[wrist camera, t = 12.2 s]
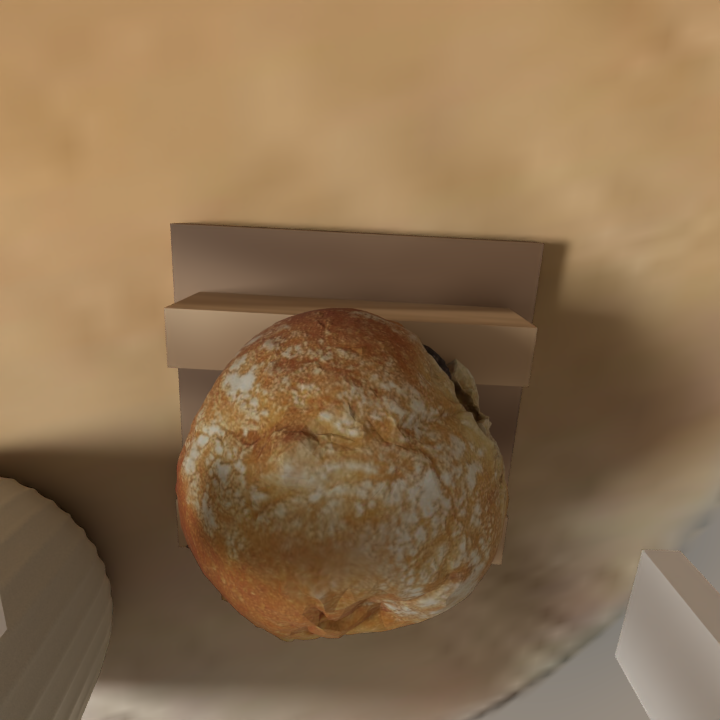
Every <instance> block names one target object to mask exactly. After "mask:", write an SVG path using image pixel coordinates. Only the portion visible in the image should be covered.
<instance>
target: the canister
mask: <svg viewBox="0 0 720 720" xmlns="http://www.w3.org/2000/svg"><path fill="white" fill-rule="evenodd" d="M105 571H106V570H105V564H104V562H103V561H102V560H101V559H100V558H99V556H98V554H97V548H96V546H95V545H94V544H93V543H92V542H91V541H90V540H89V539H88V538H87V536H86V534H85V531H84V529H83V528H81V527H79V526H78V525H77V524H76V523H75V522H74V521H73V520H72V518H71V515H70V514H69V513H66V512H64V511H63V510H61V509H60V508H59V507H58V506H57V505H56V504H55V502H54V501H53V500H49V499H47V498H45V497H43V496H42V495H40V494H39V493H38V492H37V491H36V489H34V488H28V487H25V486H23V485H21V484H20V483H18V482H17V481H16V480H15V479H12V478H3V477H0V597H1V602H2V607H3V612H4V617H5V622H6V626H7V630H6V631H5V633H4V634H3V635H2V636H1V637H0V720H81V718H82V715H83V713H84V710H85V708H86V706H87V703H88V701H89V699H90V696H91V694H92V691H93V689H94V686H95V684H96V682H97V679H98V676H99V674H100V671H101V668H102V665H103V662H104V658H105V654H106V651H107V648H108V644H109V641H110V636H111V631H112V614H113V601H112V598H111V584H110V581H109V579H108V577H107V576H106V573H105Z"/></svg>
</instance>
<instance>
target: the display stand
mask: <svg viewBox="0 0 720 720" xmlns="http://www.w3.org/2000/svg"><path fill="white" fill-rule="evenodd" d="M170 227H171V245H172V264H173V282H174V301H175V303H174V304H172V305H170V306H167V307H165V308H164V314H165V330H166V347H167V364H168V367H169V368H178V374H179V392H180V411H181V429H182V448H183V446H184V444H185V441H186V439H187V436H188V434H189V432H190V429H191V424H192V422H193V419H194V417H195V415H196V414H197V412H198V411H199V409H200V408H201V406H202V404H203V402H204V400H205V398H206V396H207V394H208V392H210V390H211V389H212V387H213V385H214V383H215V381H216V380H217V378H218V377H219V375H220V374H221V373H222V372H223V370H224V369H225V367H226V366H227V364H228V363H229V362H230V361H231V360H232V359H233V358H234V357H235V355H236V354H237V353H238V351H239V350H240V349H241V348H242V347H243V346H244V345H245V344H246V343H247V342H249V341H250V340H251V339H252V338H253V337H254V336H256V335H257V334H259V333H260V332H262V331H263V330H265V329H266V328H268V327H270V326H272V325H273V324H274V323H276V322H278V321H280V320H283V319H285V318H288V317H291V316H294V315H297V314H300V313H303V312H308V311H312V310H317V309H326V308H354V309H359V310H364V311H367V312H370V313H373V314H375V315H378V316H380V317H382V318H384V319H387V320H391V321H395V322H399V323H400V324H402V325H403V326H404V328H405V329H407V330H409V331H410V332H412V333H414V334H415V335H417V336H419V338H420V340H421V342H422V344H424V345H426V346H429V347H430V348H431V349H433V350H434V351H435V352H436V353H437V354H439V356H440V357H441V358H442V359H443V360H444V361H445V362H446V364H448V363H450V362H451V361H453V360H454V359H457V360H458V361H459V362H460V363H461V364H463V365H464V366H465V367H466V368H467V369H468V370H469V371H470V373H471V374H472V376H473V377H474V380H475V384H476V387H477V391H478V395H479V408H480V412H481V413H483V414H484V415H486V416H489V421H490V422H491V423H492V424H491V426H490V428H489V431H490V434H491V436H492V437H493V438H494V440H495V441H496V442H497V445H498V448H499V450H500V453H501V455H502V456H503V462H504V466H505V481H506V484H507V486H508V480H509V473H510V466H511V460H512V453H513V447H514V440H515V433H516V427H517V420H518V413H519V407H520V400H521V394H522V387H529V381H530V374H531V368H532V361H533V355H534V348H535V342H536V335H537V329H538V328H537V327H535V326H534V325H532V321H533V314H534V308H535V301H536V294H537V288H538V281H539V275H540V268H541V261H542V255H543V248H544V243H538V242H526V241H507V240H488V239H469V238H451V237H432V236H413V235H394V234H375V233H356V232H338V231H319V230H300V229H281V228H262V227H243V226H225V225H206V224H187V223H173V224H170ZM176 512H177V529H178V545H179V547H186V546H187V545H188V544H187V541H186V539H185V536H184V533H183V530H182V527H181V523H180V515H179V508H178V497H177V499H176ZM507 523H508V516H507V514H506V517H505V522H504V528H503V534H502V540H501V542H500V545H499V547H498V550H497V553H496V556H495V558H494V560H493V562H492V564H499V565H501V561H502V555H503V549H504V542H505V536H506V529H507Z"/></svg>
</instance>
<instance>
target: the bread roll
mask: <svg viewBox="0 0 720 720" xmlns="http://www.w3.org/2000/svg"><path fill="white" fill-rule="evenodd" d="M491 424H492V423H491V422H490V421H489V416H486V415H484V414H483V413H481V412H480V408H479V395H478V391H477V387H476V384H475V380H474V377H473V376H472V374H471V373H470V371H469V370H468V369H467V368H466V367H465V366H464V365H463V364H461V363H460V362H459V361H458V360H457V359H454V360H453V361H451V362H450V363H448V364H446V362H445V361H444V360H443V359H442V358H441V357H440V356H439V354H437V353H436V352H435V351H434V350H433V349H431V348H430V347H429V346H426V345H424V344H422V342H421V340H420V338H419V336H417V335H415V334H414V333H412V332H410V331H409V330H407V329H405V328H404V326H403V325H402V324H400V323H399V322H395V321H391V320H387V319H384V318H382V317H380V316H378V315H375V314H373V313H370V312H367V311H364V310H359V309H354V308H326V309H317V310H312V311H308V312H303V313H300V314H297V315H294V316H291V317H288V318H285V319H283V320H280V321H278V322H276V323H274V324H273V325H272V326H270V327H268V328H266V329H265V330H263V331H262V332H260V333H259V334H257V335H256V336H254V337H253V338H252V339H251V340H250V341H249V342H247V343H246V344H245V345H244V346H243V347H242V348H241V349H240V350H239V351H238V353H237V354H236V355H235V357H234V358H233V359H232V360H231V361H230V362H229V363H228V364H227V366H226V367H225V369H224V370H223V372H222V373H221V374H220V375H219V377H218V378H217V380H216V381H215V383H214V385H213V387H212V389H211V390H210V392H208V394H207V396H206V398H205V400H204V402H203V404H202V406H201V408H200V409H199V411H198V412H197V414H196V415H195V417H194V419H193V422H192V424H191V429H190V432H189V434H188V436H187V439H186V441H185V444H184V446H183V449H182V451H181V453H180V456H179V459H178V464H177V468H176V469H177V483H176V487H175V491H176V494H177V497H178V508H179V515H180V523H181V527H182V530H183V533H184V536H185V539H186V541H187V544H188V545H187V546H186V547H187V548H190V550H191V552H192V553H193V555H194V557H195V559H196V561H197V563H198V565H199V567H200V568H201V570H202V572H203V574H204V575H205V576H206V577H207V578H208V579H209V581H210V582H211V583H212V584H213V585H214V586H215V587H216V589H217V590H218V591H219V592H220V593H221V595H222V600H225V601H227V602H229V603H230V604H231V605H232V606H233V607H234V608H235V609H236V610H237V611H238V612H239V613H240V614H241V615H242V616H244V617H246V618H247V619H248V620H249V621H250V622H251V623H253V624H254V625H255V626H256V627H259V628H263V629H265V630H266V631H267V632H269V633H271V634H273V635H275V636H276V637H278V638H279V639H281V640H283V641H286V642H292V641H293V640H294V639H300V640H309V639H316V638H319V637H325V638H340V637H342V636H343V635H344V634H346V635H352V634H359V633H370V632H382V631H387V630H392V629H395V628H399V627H403V626H407V625H411V624H416V623H420V622H422V621H425V620H427V619H430V618H432V617H434V616H437V615H439V614H441V613H444V612H445V611H447V610H448V609H450V608H452V607H453V606H455V605H456V604H458V603H460V602H461V601H463V600H464V599H465V598H466V597H468V596H469V595H470V593H471V592H472V591H473V589H474V588H475V587H476V585H477V584H478V583H479V582H480V580H481V579H482V578H483V576H484V575H485V573H486V572H487V571H488V569H489V567H490V566H491V564H492V562H493V560H494V558H495V556H496V553H497V550H498V547H499V545H500V542H501V540H502V534H503V528H504V522H505V517H506V513H507V508H508V503H509V496H508V489H507V484H506V481H505V466H504V462H503V456H502V455H501V453H500V450H499V448H498V445H497V442H496V441H495V440H494V438H493V437H492V436H491V434H490V431H489V428H490V426H491Z"/></svg>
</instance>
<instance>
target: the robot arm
mask: <svg viewBox="0 0 720 720" xmlns="http://www.w3.org/2000/svg"><path fill="white" fill-rule="evenodd" d="M6 630H7V626H6V622H5V617H4V612H3V607H2V602H1V597H0V637H1V636H2V635H3V634H4V633H5V631H6ZM615 657H616V659H617V661H618V663H619V664H620V666H621V668H622V669H623V671H624V673H625V675H626V677H627V679H628V680H629V682H630V684H631V686H632V688H633V689H634V691H635V693H636V695H637V697H638V698H639V700H640V701H641V703H642V706H643V707H644V709H645V711H646V712H647V714H648V716H649V718H650V720H720V594H719V593H718V592H717V591H716V589H715V588H714V587H713V586H712V585H711V584H710V583H709V582H708V581H707V580H706V578H705V577H704V576H703V575H702V574H701V573H700V572H699V571H698V570H697V569H696V568H695V566H694V565H693V564H692V563H691V562H690V561H689V560H688V559H687V558H686V557H685V556H684V554H683V553H682V552H681V551H670V550H648V549H642V553H641V557H640V561H639V565H638V569H637V572H636V576H635V580H634V584H633V588H632V592H631V595H630V599H629V603H628V607H627V611H626V615H625V618H624V622H623V626H622V630H621V634H620V638H619V641H618V645H617V649H616V653H615Z"/></svg>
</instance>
